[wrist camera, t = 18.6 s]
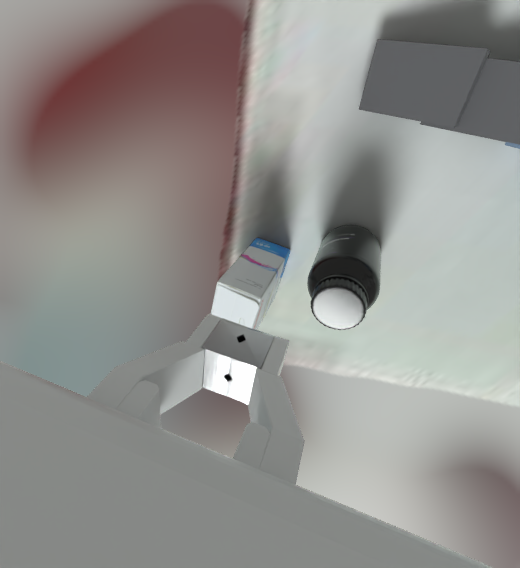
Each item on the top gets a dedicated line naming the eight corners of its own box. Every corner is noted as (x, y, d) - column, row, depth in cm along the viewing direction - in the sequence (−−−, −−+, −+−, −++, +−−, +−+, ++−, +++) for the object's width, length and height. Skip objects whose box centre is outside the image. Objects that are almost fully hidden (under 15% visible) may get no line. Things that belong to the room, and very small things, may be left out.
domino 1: (384, 43, 27) (489, 52, 23) (365, 109, 29) (457, 127, 26) (377, 39, 25) (487, 48, 22) (358, 109, 28) (453, 127, 24)
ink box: (254, 234, 40) (215, 280, 30) (291, 248, 39) (263, 300, 29) (241, 287, 44) (203, 341, 35) (273, 300, 44) (244, 359, 34)
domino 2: (450, 56, 26) (567, 70, 23) (423, 123, 29) (525, 144, 25) (447, 53, 24) (572, 67, 21) (420, 124, 27) (526, 146, 24)
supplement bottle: (340, 211, 35) (325, 258, 25) (393, 242, 35) (399, 302, 25) (309, 258, 39) (286, 313, 29) (357, 286, 39) (350, 351, 29)
